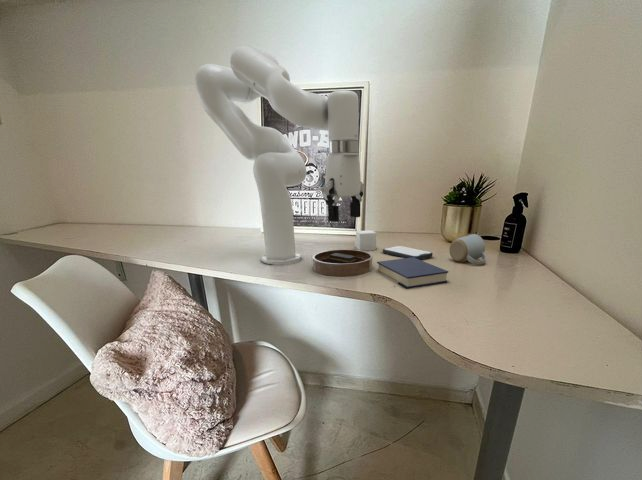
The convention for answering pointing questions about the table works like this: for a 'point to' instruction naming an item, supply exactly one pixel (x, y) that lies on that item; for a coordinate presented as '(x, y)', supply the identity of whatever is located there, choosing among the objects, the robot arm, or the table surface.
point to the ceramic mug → (468, 249)
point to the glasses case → (342, 258)
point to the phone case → (407, 252)
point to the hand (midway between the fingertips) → (344, 219)
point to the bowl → (348, 269)
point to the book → (413, 272)
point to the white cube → (366, 240)
